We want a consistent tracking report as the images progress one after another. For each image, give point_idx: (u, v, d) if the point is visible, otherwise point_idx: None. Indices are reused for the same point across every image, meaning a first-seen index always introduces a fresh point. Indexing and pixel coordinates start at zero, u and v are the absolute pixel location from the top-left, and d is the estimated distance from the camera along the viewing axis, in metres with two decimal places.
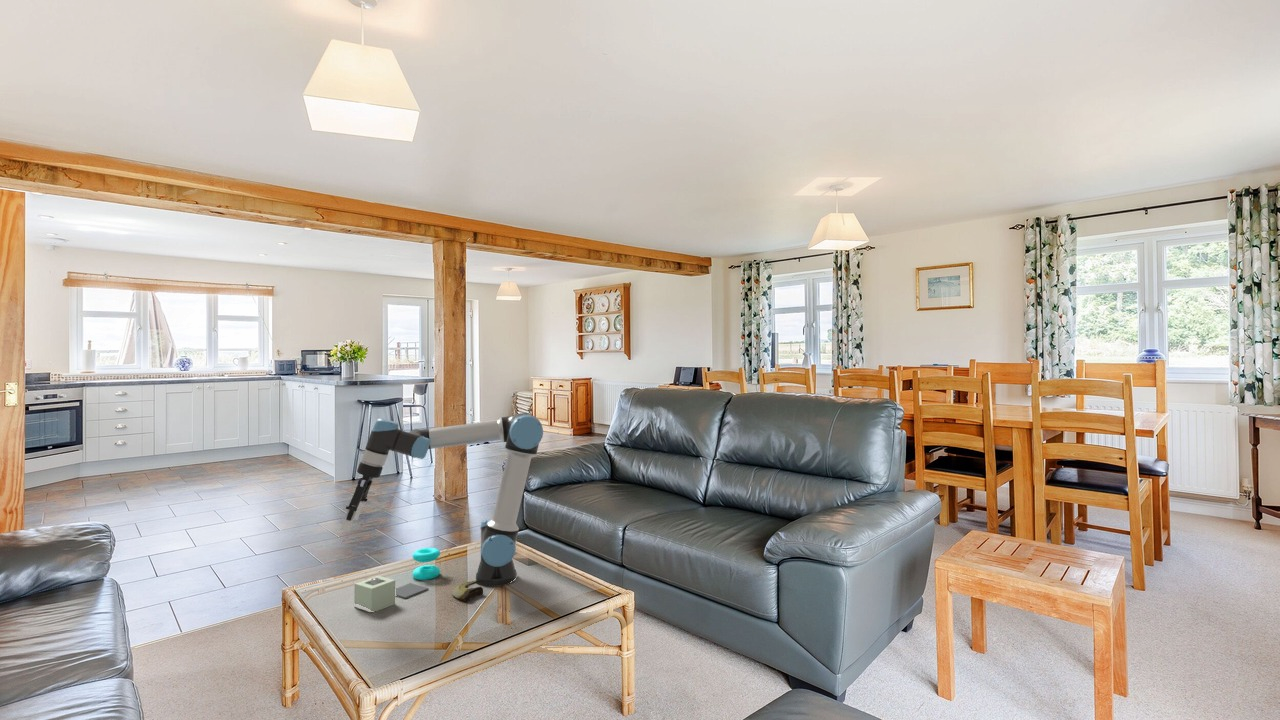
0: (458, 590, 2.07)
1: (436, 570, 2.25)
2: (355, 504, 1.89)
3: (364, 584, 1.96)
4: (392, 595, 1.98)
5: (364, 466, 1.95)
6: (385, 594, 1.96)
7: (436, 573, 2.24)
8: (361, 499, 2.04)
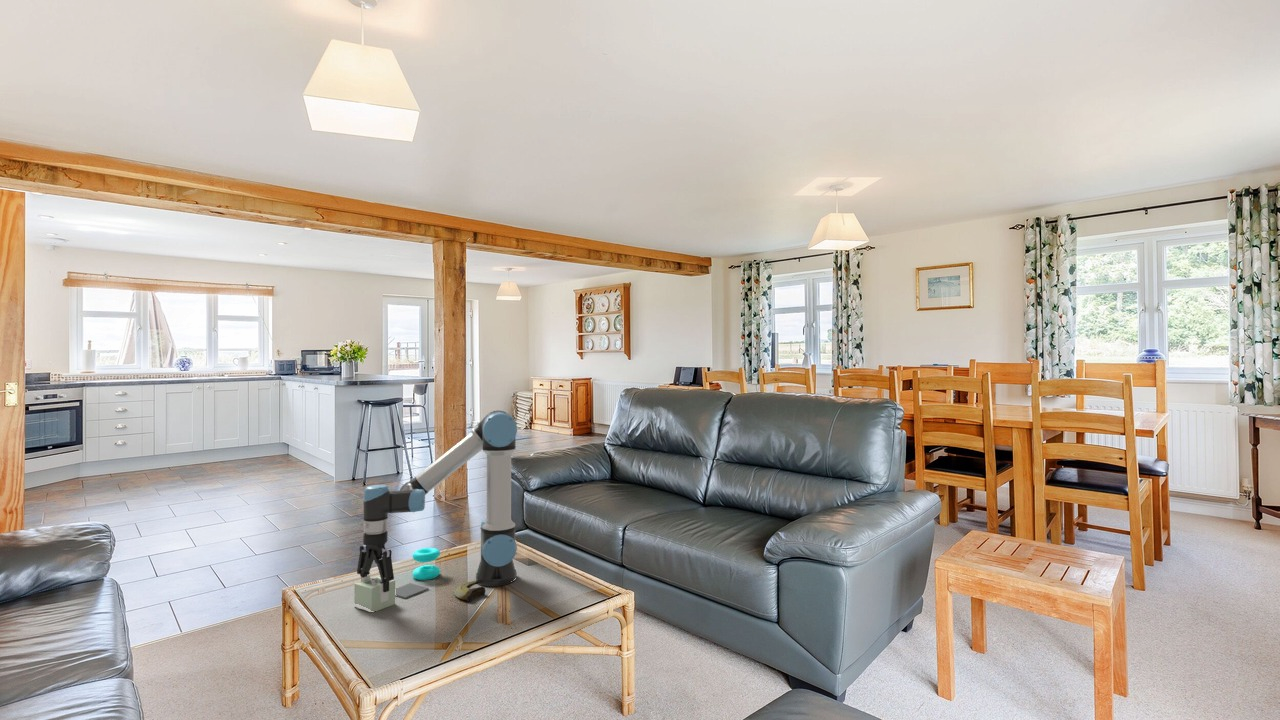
0: (460, 590, 2.07)
1: (436, 570, 2.25)
2: (391, 574, 1.94)
3: (364, 584, 1.96)
4: (392, 595, 1.98)
5: (377, 537, 1.95)
6: None
7: (436, 573, 2.24)
8: (366, 574, 2.01)
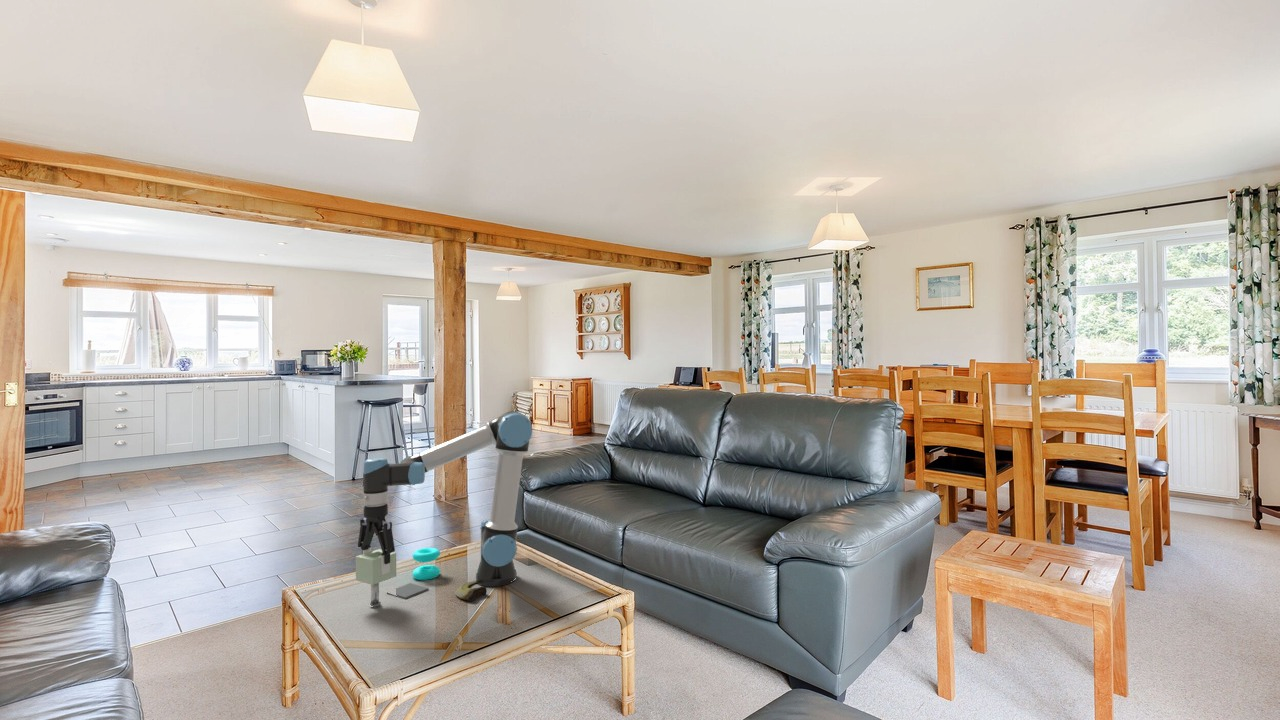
0: (461, 590, 2.07)
1: (436, 570, 2.25)
2: (392, 546, 1.95)
3: (365, 556, 1.96)
4: (393, 567, 1.99)
5: (377, 509, 1.95)
6: None
7: (436, 573, 2.24)
8: (366, 547, 2.01)
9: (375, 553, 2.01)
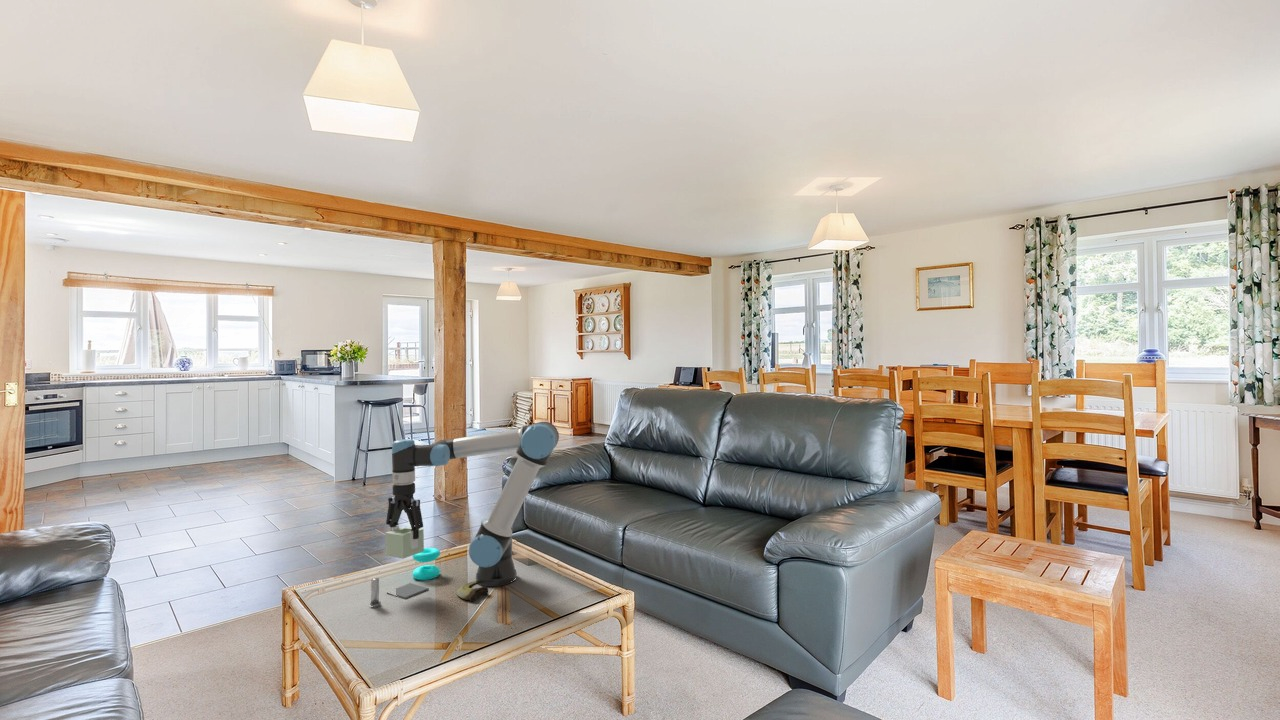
0: (463, 590, 2.07)
1: (436, 570, 2.25)
2: (421, 522, 2.05)
3: (394, 532, 2.06)
4: (421, 543, 2.09)
5: (406, 487, 2.06)
6: None
7: (436, 573, 2.24)
8: (395, 524, 2.11)
9: (403, 530, 2.11)
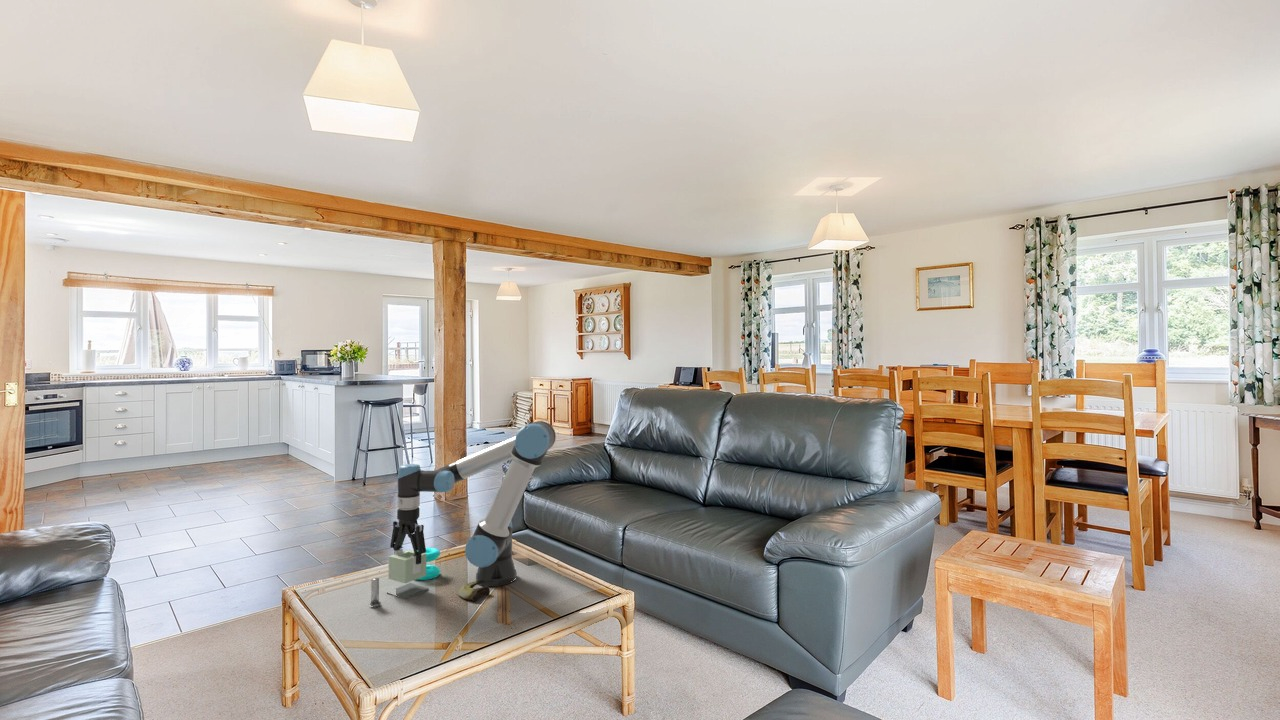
0: (464, 590, 2.07)
1: (436, 570, 2.25)
2: (424, 548, 2.07)
3: (398, 556, 2.08)
4: (423, 567, 2.11)
5: (410, 512, 2.08)
6: None
7: (436, 573, 2.24)
8: (398, 547, 2.13)
9: (406, 553, 2.13)
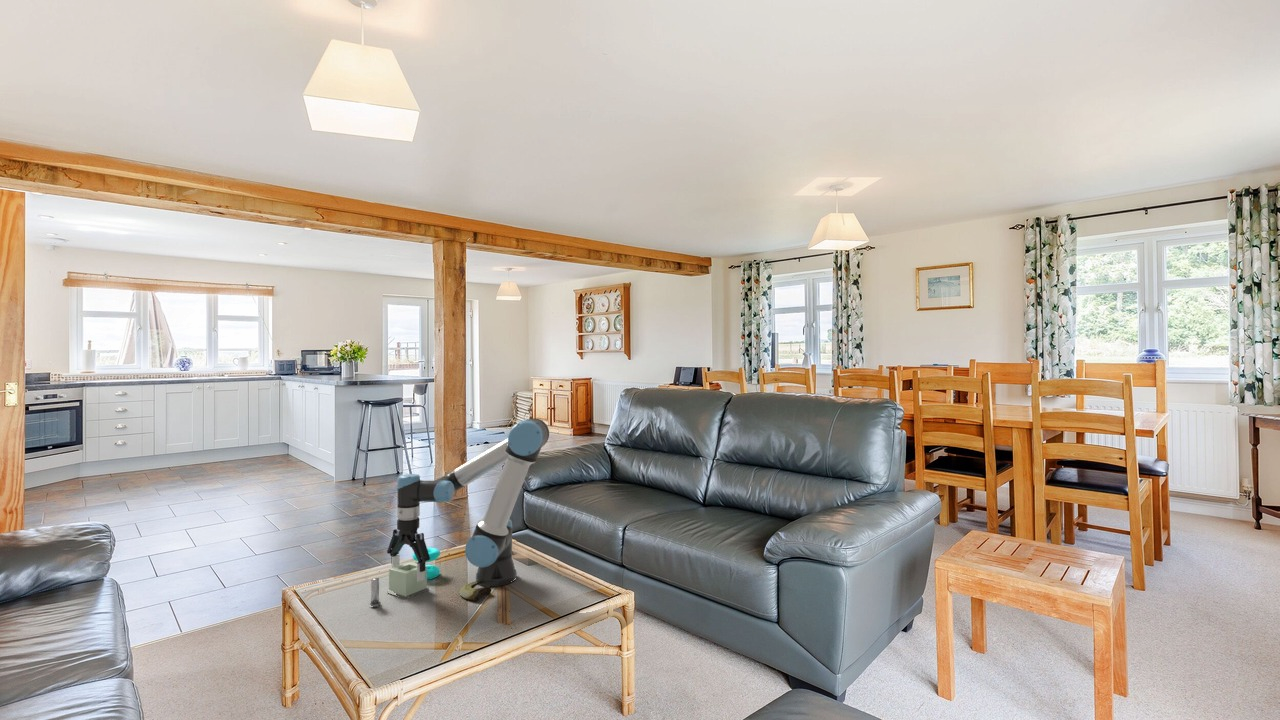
0: (466, 590, 2.06)
1: (436, 570, 2.25)
2: (427, 555, 2.06)
3: (398, 569, 2.08)
4: (424, 580, 2.11)
5: (410, 522, 2.08)
6: None
7: (436, 573, 2.24)
8: (395, 554, 2.14)
9: (407, 566, 2.13)
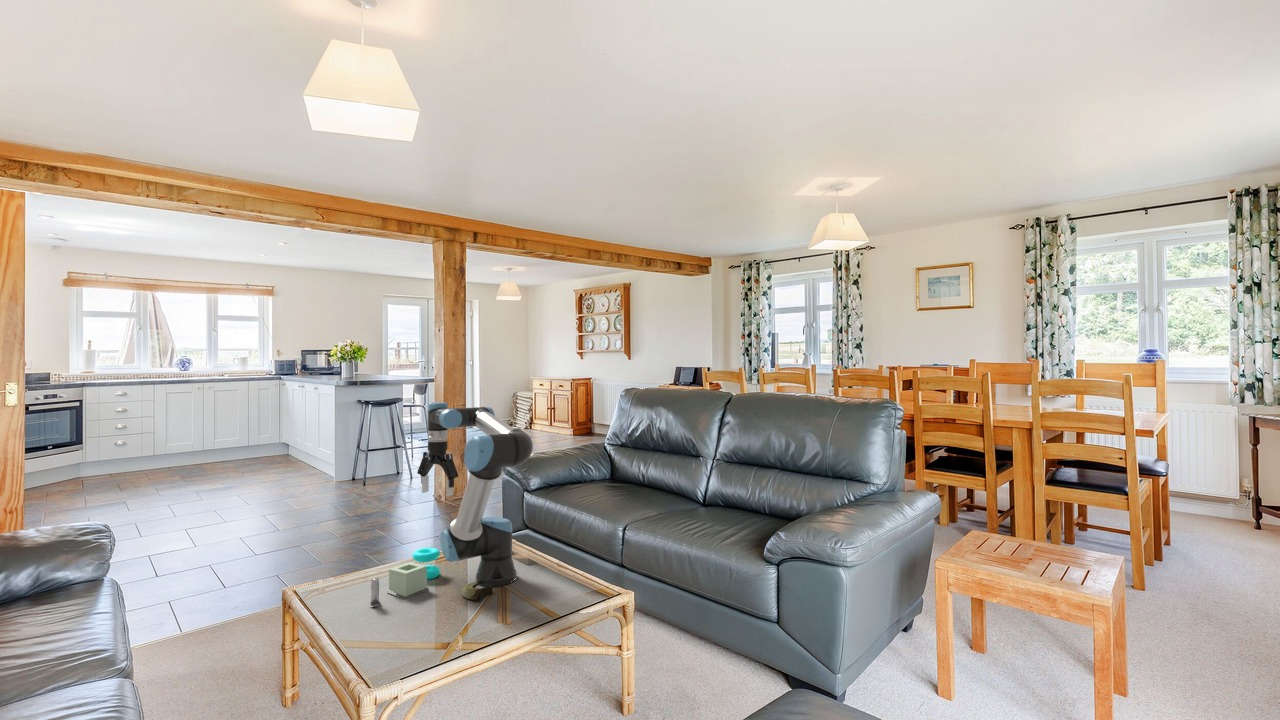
0: (467, 591, 2.06)
1: (436, 570, 2.25)
2: (456, 472, 2.30)
3: (398, 569, 2.08)
4: (424, 580, 2.11)
5: (440, 444, 2.31)
6: (417, 579, 2.09)
7: (436, 573, 2.24)
8: (425, 474, 2.38)
9: (407, 566, 2.13)
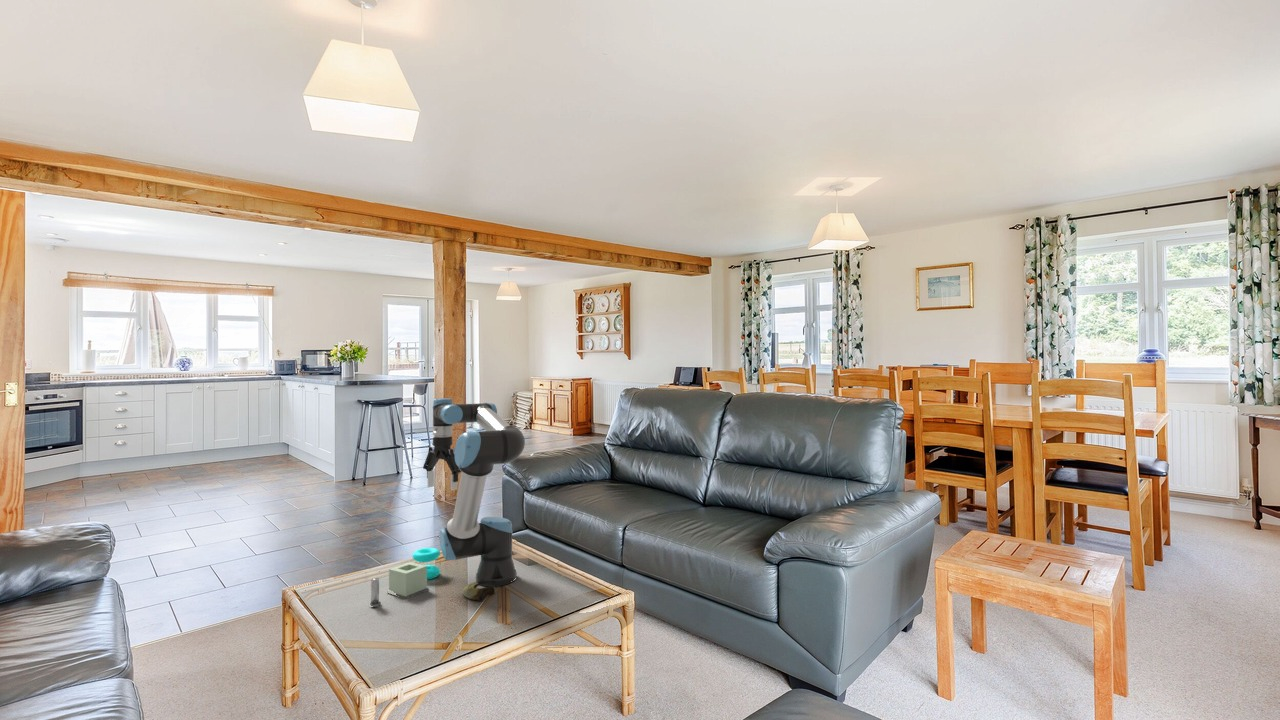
0: (469, 590, 2.06)
1: (436, 570, 2.25)
2: None
3: (398, 569, 2.08)
4: (424, 580, 2.11)
5: (445, 439, 2.35)
6: (417, 579, 2.09)
7: (436, 573, 2.24)
8: (430, 469, 2.42)
9: (407, 566, 2.13)
